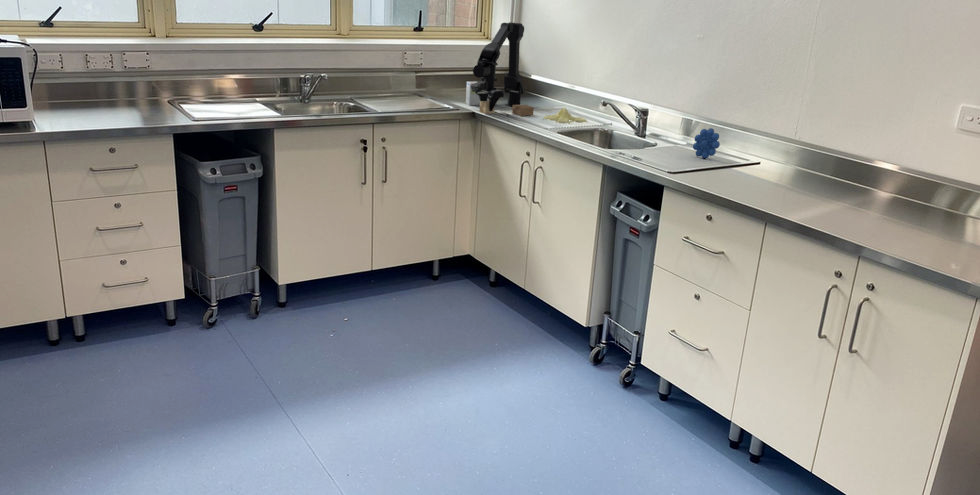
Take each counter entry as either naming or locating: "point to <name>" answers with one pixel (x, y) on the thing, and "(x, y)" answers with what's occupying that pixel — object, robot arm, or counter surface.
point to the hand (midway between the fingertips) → (486, 109)
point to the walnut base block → (522, 110)
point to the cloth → (564, 117)
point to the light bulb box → (472, 95)
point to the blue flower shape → (706, 143)
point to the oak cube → (485, 107)
